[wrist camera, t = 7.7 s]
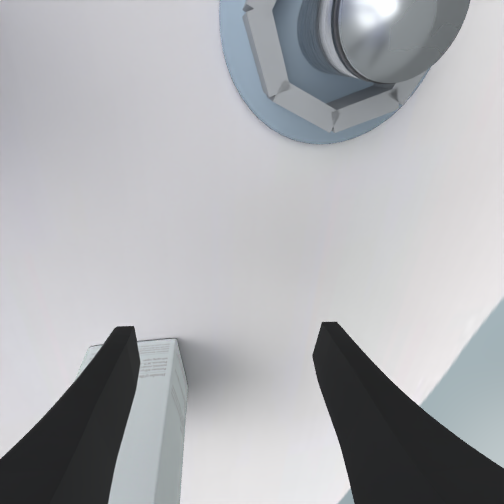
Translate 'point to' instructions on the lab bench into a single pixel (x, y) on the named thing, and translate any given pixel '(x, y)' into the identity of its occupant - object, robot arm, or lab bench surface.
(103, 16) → the lab bench surface
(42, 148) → the lab bench surface
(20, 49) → the lab bench surface
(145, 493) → the supplement box
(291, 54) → the collar
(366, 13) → the silver metal canister
